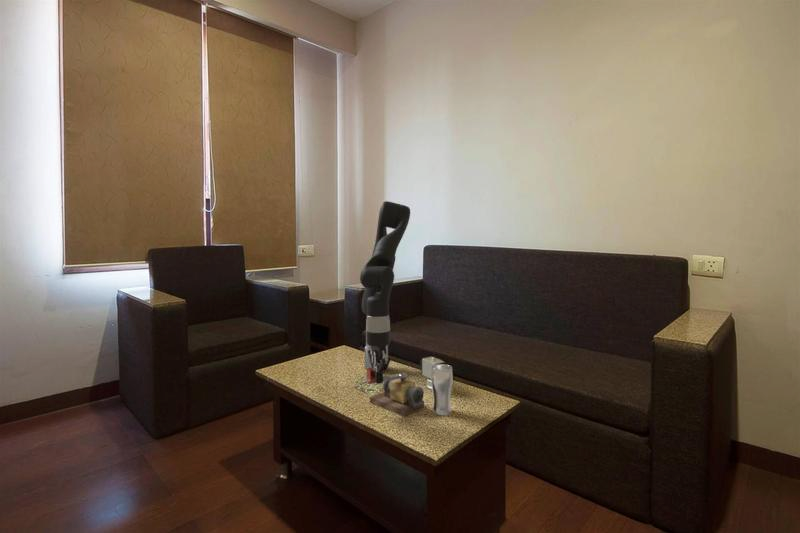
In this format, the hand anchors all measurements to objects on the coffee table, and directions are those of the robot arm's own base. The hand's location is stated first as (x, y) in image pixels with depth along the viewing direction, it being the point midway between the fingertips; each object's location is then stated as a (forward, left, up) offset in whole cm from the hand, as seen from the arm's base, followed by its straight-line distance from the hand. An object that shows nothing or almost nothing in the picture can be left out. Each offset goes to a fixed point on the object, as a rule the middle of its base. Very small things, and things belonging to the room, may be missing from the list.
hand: (378, 382), depth 136 cm
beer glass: (+13, +17, -11) cm, 24 cm away
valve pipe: (-2, +10, -11) cm, 15 cm away
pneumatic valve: (-2, +31, -11) cm, 33 cm away
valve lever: (-2, +6, -1) cm, 6 cm away
